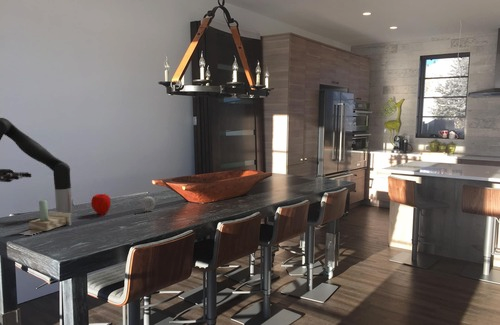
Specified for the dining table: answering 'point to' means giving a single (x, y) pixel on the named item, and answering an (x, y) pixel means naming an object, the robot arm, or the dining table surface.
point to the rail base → (51, 213)
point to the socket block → (47, 223)
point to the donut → (145, 200)
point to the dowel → (43, 210)
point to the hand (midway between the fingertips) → (24, 176)
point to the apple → (101, 203)
